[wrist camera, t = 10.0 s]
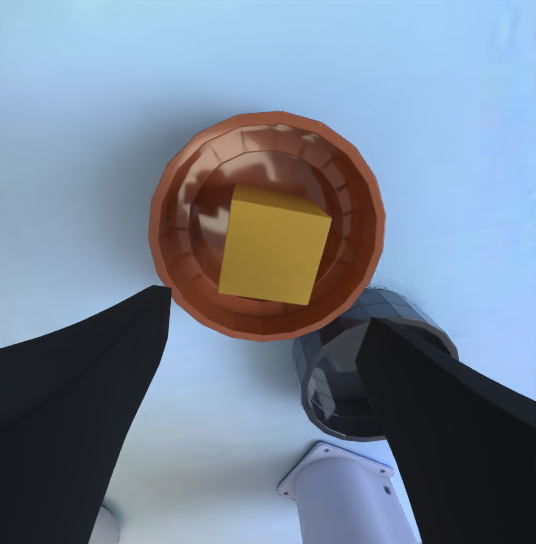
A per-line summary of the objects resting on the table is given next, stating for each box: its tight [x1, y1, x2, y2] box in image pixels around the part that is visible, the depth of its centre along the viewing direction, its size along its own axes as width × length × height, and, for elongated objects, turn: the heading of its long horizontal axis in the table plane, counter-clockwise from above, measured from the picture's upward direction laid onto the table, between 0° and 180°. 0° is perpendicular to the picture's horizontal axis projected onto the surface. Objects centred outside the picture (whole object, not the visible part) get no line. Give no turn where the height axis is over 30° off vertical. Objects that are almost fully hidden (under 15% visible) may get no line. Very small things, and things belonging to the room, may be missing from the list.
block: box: [218, 183, 332, 305], centre depth 16 cm, size 4×4×6 cm
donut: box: [88, 506, 120, 544], centre depth 28 cm, size 10×4×10 cm
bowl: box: [148, 111, 386, 342], centre depth 17 cm, size 12×12×4 cm
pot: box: [293, 289, 459, 442], centre depth 22 cm, size 11×11×4 cm
